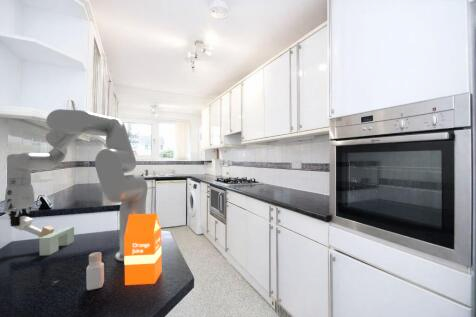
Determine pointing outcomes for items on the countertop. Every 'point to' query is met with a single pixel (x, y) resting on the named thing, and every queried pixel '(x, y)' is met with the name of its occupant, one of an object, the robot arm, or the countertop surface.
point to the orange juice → (142, 249)
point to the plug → (33, 227)
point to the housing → (56, 240)
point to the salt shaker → (95, 271)
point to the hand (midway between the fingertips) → (19, 224)
